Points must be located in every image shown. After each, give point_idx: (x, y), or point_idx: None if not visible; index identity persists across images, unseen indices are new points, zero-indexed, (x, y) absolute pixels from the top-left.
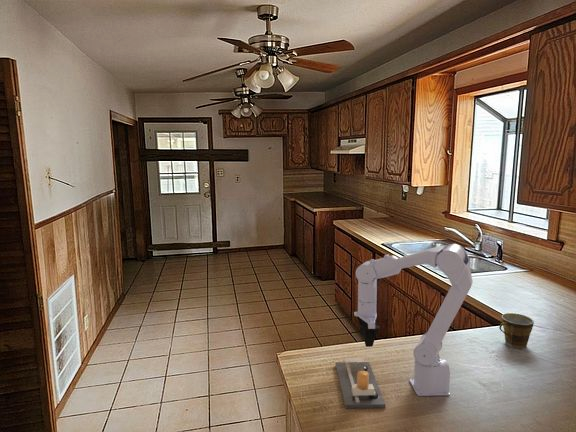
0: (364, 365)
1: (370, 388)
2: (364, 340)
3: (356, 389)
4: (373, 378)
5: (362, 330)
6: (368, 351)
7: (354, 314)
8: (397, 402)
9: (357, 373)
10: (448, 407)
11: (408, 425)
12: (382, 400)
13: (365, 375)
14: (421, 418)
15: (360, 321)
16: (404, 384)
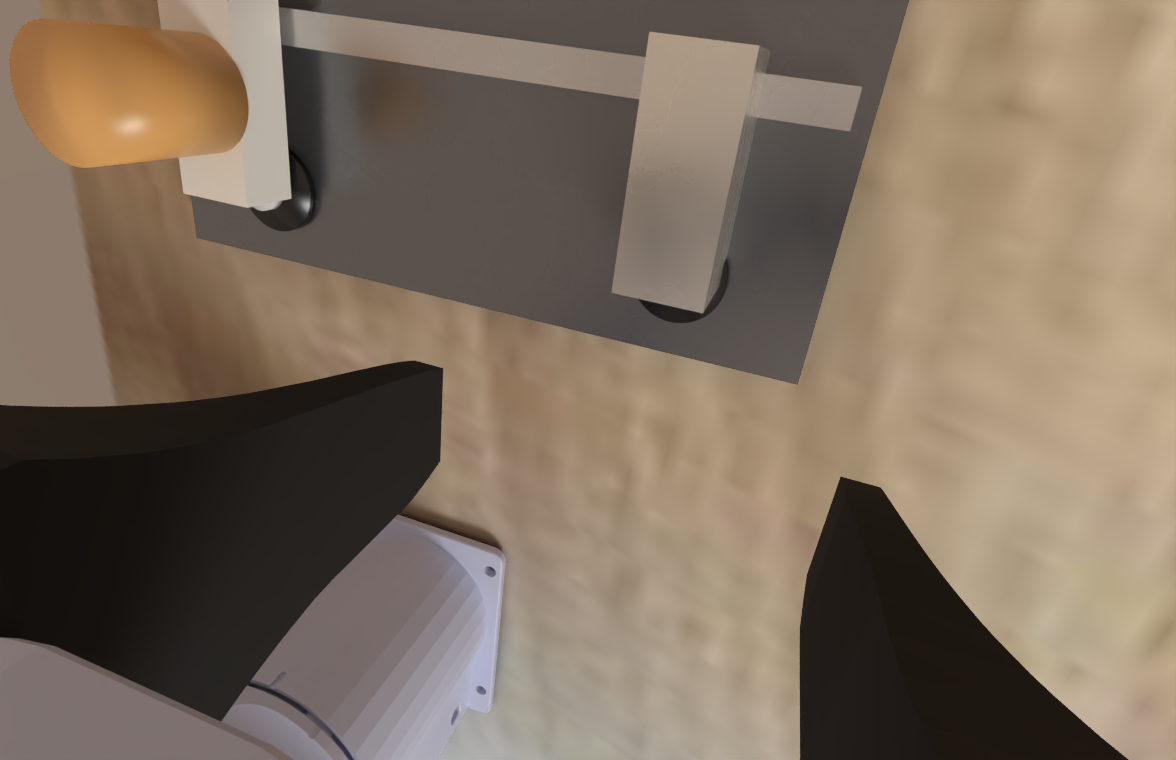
0: (741, 309)
1: (186, 160)
2: (379, 384)
3: (159, 9)
4: (502, 296)
5: (191, 444)
6: (1109, 503)
7: (8, 729)
8: (284, 341)
9: (51, 22)
10: None
11: (107, 295)
12: (230, 234)
13: (34, 112)
14: (167, 395)
15: (876, 710)
16: (468, 494)
